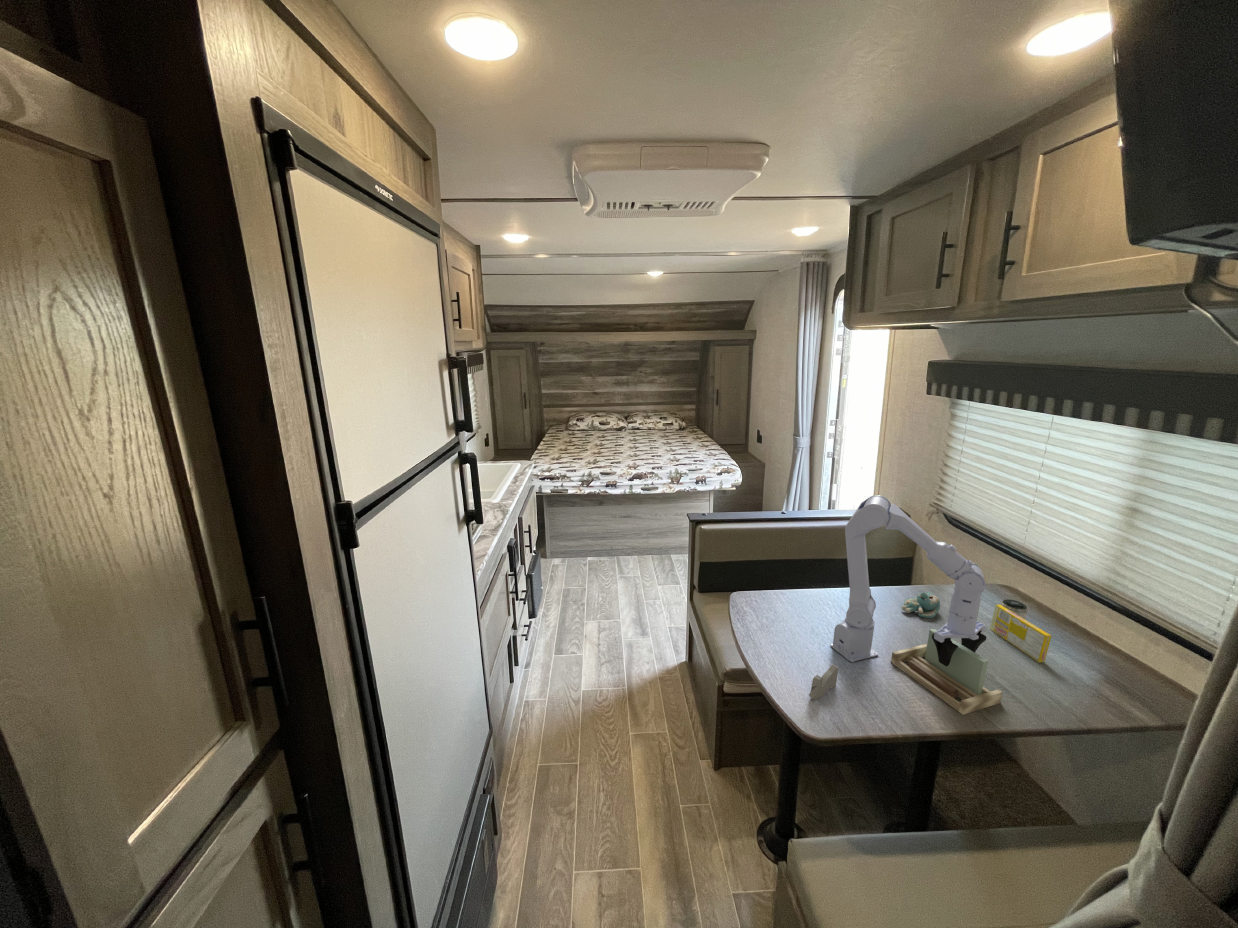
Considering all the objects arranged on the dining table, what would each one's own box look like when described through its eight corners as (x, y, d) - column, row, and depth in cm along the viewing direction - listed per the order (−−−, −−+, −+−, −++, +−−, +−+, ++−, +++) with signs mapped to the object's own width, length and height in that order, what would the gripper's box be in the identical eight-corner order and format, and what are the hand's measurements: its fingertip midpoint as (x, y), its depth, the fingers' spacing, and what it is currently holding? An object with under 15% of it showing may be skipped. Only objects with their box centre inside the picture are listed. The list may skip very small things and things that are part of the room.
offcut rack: (963, 714, 111) (965, 703, 110) (890, 661, 129) (892, 652, 128) (1000, 702, 114) (1002, 691, 113) (924, 653, 133) (926, 643, 132)
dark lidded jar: (1027, 633, 142) (1033, 609, 140) (1002, 630, 143) (1007, 606, 141) (1016, 622, 147) (1021, 598, 146) (992, 619, 149) (997, 596, 147)
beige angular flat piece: (835, 686, 120) (812, 703, 114) (830, 683, 121) (807, 699, 115) (838, 666, 119) (815, 682, 113) (833, 663, 120) (809, 679, 114)
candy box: (1046, 662, 129) (1052, 635, 127) (1038, 663, 129) (1045, 635, 127) (995, 628, 144) (1000, 603, 142) (988, 628, 144) (993, 603, 142)
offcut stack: (951, 701, 115) (953, 691, 114) (907, 670, 126) (909, 660, 125) (958, 699, 116) (960, 688, 115) (914, 668, 127) (916, 658, 126)
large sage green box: (976, 698, 116) (983, 661, 114) (924, 662, 129) (929, 629, 126) (980, 696, 116) (988, 660, 114) (928, 661, 129) (934, 628, 127)
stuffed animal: (891, 590, 156) (923, 580, 158) (892, 609, 158) (924, 599, 160) (917, 607, 146) (951, 596, 148) (917, 627, 148) (951, 616, 150)
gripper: (957, 626, 112) (948, 676, 115) (1001, 615, 117) (991, 664, 120) (929, 610, 119) (921, 659, 122) (972, 601, 123) (964, 648, 126)
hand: (954, 660), depth 121 cm, fingers open, 7 cm apart
